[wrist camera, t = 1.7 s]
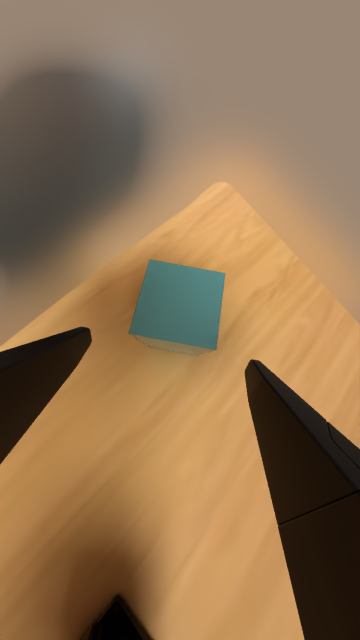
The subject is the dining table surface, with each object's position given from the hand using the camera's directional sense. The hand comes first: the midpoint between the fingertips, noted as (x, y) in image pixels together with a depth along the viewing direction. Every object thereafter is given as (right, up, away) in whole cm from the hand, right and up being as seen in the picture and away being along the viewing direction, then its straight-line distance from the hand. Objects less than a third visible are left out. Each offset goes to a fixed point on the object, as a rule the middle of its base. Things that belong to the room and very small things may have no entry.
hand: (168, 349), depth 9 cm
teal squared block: (0, +1, +13) cm, 13 cm away
